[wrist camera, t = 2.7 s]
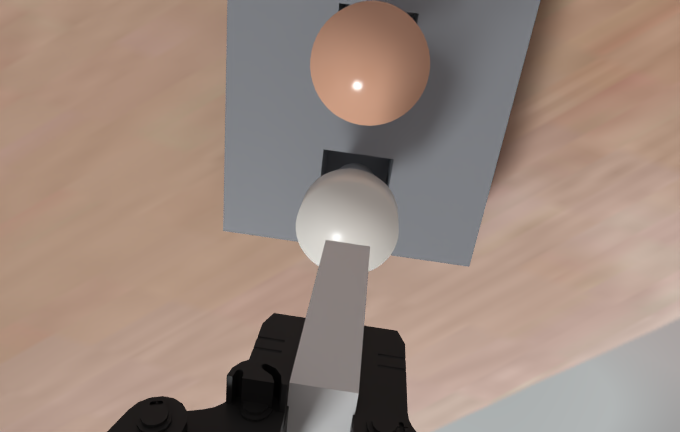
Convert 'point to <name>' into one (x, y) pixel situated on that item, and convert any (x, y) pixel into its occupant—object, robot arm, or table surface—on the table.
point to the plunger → (349, 214)
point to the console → (377, 140)
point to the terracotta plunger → (370, 63)
